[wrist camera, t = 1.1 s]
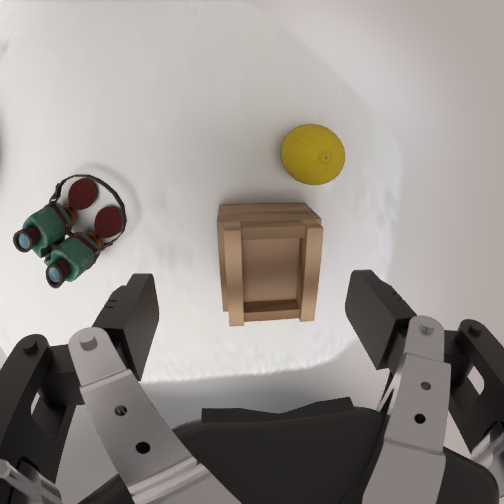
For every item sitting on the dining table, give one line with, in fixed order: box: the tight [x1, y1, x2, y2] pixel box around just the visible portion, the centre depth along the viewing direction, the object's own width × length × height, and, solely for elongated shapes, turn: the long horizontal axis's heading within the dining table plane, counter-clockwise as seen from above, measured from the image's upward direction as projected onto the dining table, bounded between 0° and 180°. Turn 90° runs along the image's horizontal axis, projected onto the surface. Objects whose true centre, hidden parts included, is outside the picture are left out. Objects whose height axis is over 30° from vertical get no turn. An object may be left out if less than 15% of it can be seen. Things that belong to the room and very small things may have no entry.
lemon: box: [281, 124, 345, 185], centre depth 24 cm, size 6×6×8 cm
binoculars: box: [13, 175, 127, 288], centre depth 24 cm, size 9×11×10 cm
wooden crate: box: [217, 203, 323, 326], centre depth 27 cm, size 9×9×8 cm
